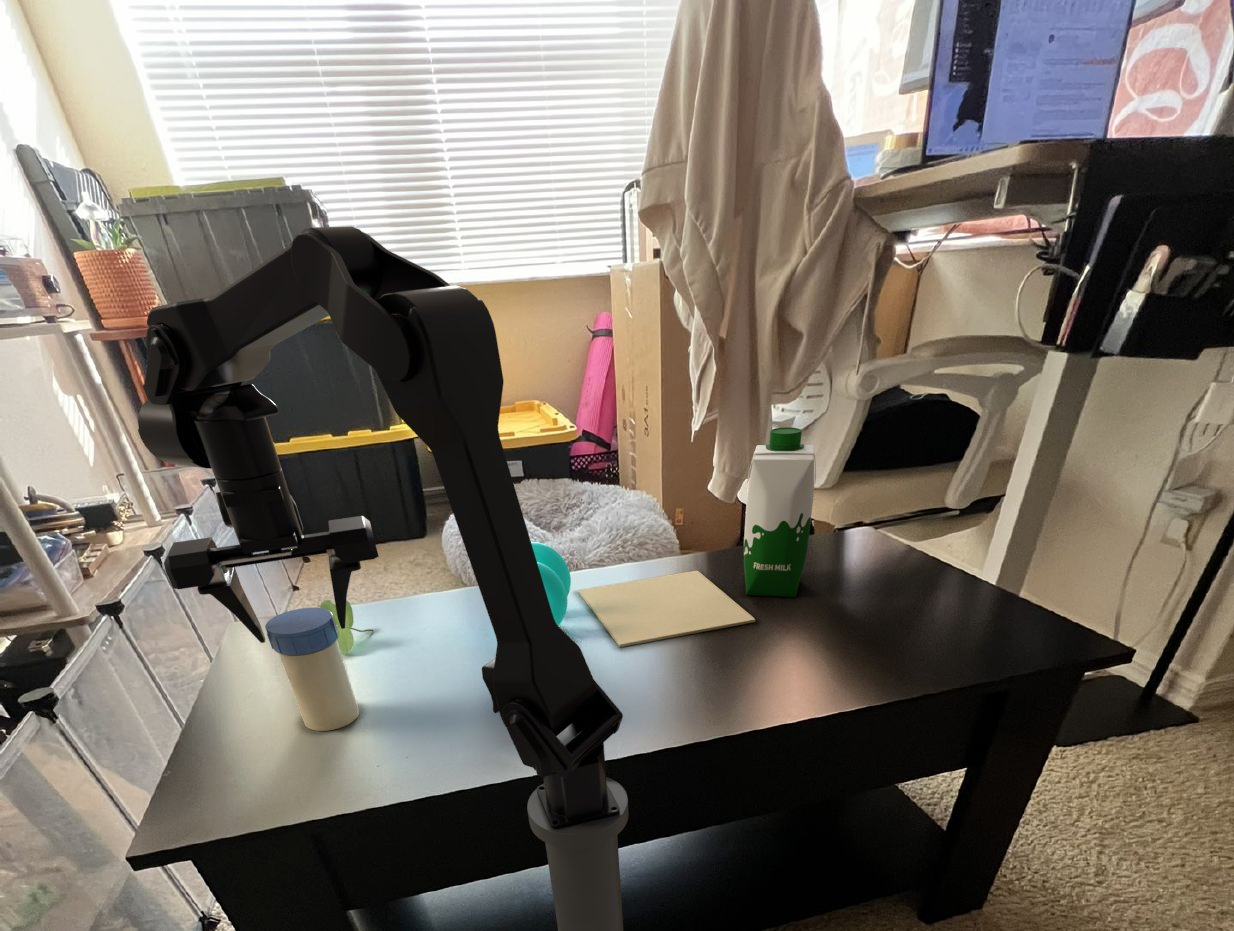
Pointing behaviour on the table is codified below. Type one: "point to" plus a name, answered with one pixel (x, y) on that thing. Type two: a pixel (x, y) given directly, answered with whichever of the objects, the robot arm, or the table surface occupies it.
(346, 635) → the green clover
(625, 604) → the placemat
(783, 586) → the milk carton
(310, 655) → the jar
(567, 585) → the turquoise spool
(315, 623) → the lid
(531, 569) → the robot arm
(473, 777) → the table surface
